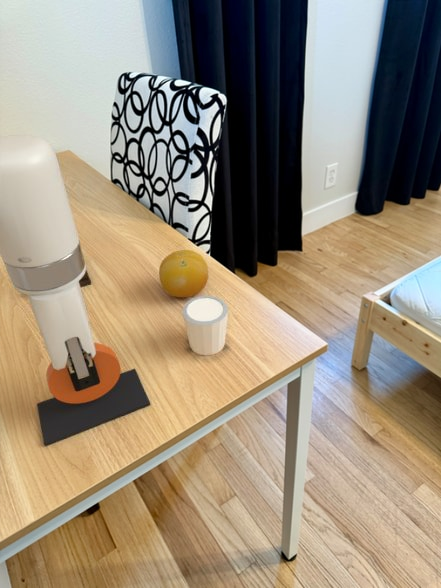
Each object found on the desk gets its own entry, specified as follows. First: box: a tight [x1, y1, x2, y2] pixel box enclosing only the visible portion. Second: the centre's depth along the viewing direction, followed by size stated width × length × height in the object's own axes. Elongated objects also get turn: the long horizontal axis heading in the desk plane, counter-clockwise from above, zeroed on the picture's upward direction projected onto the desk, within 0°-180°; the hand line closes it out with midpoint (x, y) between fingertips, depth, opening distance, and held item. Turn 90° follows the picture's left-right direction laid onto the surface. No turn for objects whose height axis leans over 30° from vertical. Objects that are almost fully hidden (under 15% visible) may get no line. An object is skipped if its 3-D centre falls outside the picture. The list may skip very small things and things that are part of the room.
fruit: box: [158, 249, 209, 298], centre depth 76 cm, size 9×8×8 cm
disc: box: [45, 342, 122, 404], centre depth 55 cm, size 9×2×9 cm, turn 116°
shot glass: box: [182, 294, 229, 356], centre depth 66 cm, size 7×7×7 cm
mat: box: [36, 368, 151, 447], centre depth 59 cm, size 14×7×1 cm, turn 116°
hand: (85, 379), depth 56 cm, fingers closed on disc, 1 cm apart
